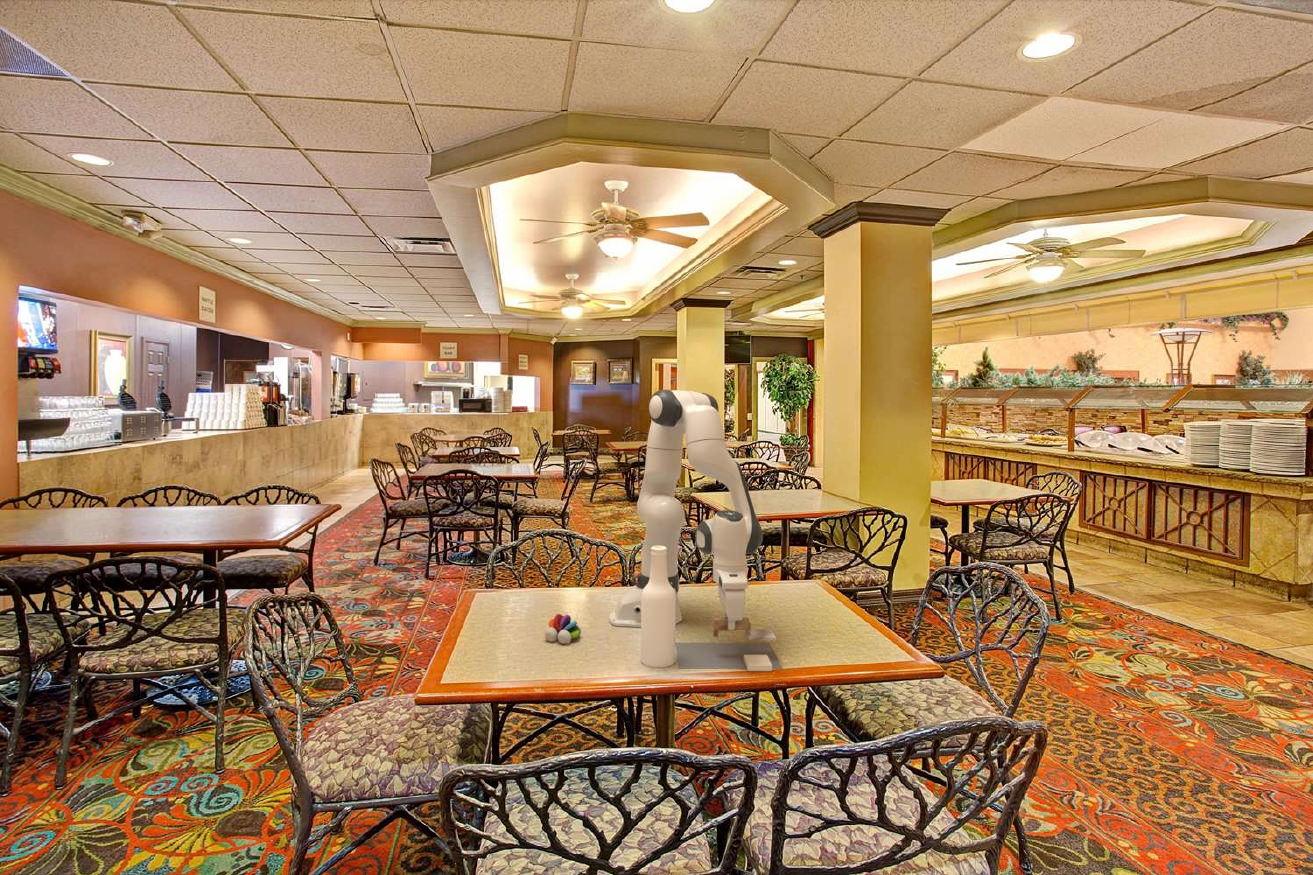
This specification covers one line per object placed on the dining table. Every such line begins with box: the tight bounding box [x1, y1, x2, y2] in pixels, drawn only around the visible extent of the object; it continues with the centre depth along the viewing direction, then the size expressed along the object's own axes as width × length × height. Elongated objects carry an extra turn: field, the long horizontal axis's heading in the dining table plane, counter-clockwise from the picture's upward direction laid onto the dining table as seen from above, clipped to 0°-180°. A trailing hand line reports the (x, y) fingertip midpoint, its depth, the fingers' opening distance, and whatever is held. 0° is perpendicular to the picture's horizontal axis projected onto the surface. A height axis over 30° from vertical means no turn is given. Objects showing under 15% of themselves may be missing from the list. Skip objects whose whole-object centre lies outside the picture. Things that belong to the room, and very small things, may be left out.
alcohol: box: [640, 546, 677, 668], centre depth 167 cm, size 9×9×30 cm
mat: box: [675, 642, 783, 670], centre depth 172 cm, size 26×18×1 cm
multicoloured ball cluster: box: [544, 613, 582, 645], centre depth 185 cm, size 8×10×7 cm
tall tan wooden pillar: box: [712, 616, 777, 641], centre depth 171 cm, size 16×6×4 cm, turn 92°
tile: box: [744, 655, 773, 672], centre depth 165 cm, size 6×2×7 cm
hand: (729, 626), depth 171 cm, fingers closed on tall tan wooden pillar, 2 cm apart
